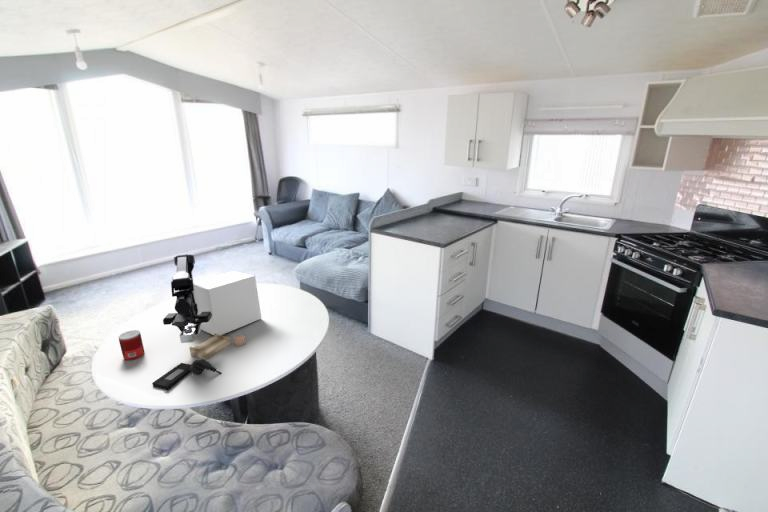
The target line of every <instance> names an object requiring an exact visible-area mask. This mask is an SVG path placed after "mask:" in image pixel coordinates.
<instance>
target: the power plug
mask: <svg viewBox="0 0 768 512" xmlns="http://www.w3.org/2000/svg"><path fill="white" fill-rule="evenodd" d="M190 365H191V366H190V368H189V369H190V371H191V373H192V374H191V375H190V376H191V377H193V376H194V375H197V376H200V375H202V374H203V373H204V371H208V372H209V371H210V372H212V373H218V375H222V372H221V371H219V370H218V369H217V367H215V366H213V364H212V363H210V362H208V361H207V360H205V359H202V358H200V359H195V360H194V361H193V362H192V363H191V364H190Z"/></svg>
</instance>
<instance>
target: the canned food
mask: <svg viewBox="0 0 768 512" xmlns="http://www.w3.org/2000/svg"><path fill="white" fill-rule="evenodd" d="M142 339H143V338H142V334H141V332H140V330H137V329H135V330H134V329H133V330H129V331H125V332H123V333H121V334H120V335H119V336H118V342H119V347H120V350H121V353H122V357H123V359H124V360H126V361H133V360H136V359H139V358H141V357H142V356H143V355H144V354H145V348H144V343H143V340H142Z"/></svg>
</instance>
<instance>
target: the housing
mask: <svg viewBox="0 0 768 512" xmlns="http://www.w3.org/2000/svg"><path fill="white" fill-rule="evenodd" d="M201 332H202V330H201V328H199V332H198V334H196V330H195V325H194V324H189V323H188V325H187V326H185V329H184V330H183V331H182V332H181V333H180V334H179V339H180V344H187V343H194V342H195V340H196V338H197V337H199V334H200V333H201Z"/></svg>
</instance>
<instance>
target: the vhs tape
mask: <svg viewBox="0 0 768 512" xmlns="http://www.w3.org/2000/svg"><path fill="white" fill-rule="evenodd" d="M191 365H192V364H189V363H183V362H180V363H178V365H176V366H174V367H173V368H172V369H170V370H169V371H167V372H166V373H165V374H163V375H161V376H160V377H159V378H158V379H156V380H155V381H153V382H152V387H153V388H158V389H162V390H165V391H166V392H167V391H169V390H171V389H172V388H174V387H175V386H176V385H177V384H178V383H180V382H181V380H183V379H184V378H186V377H187V376H188V375H189V374H191V373H192V372H191V371H190V369H189V368H190V366H191Z"/></svg>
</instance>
